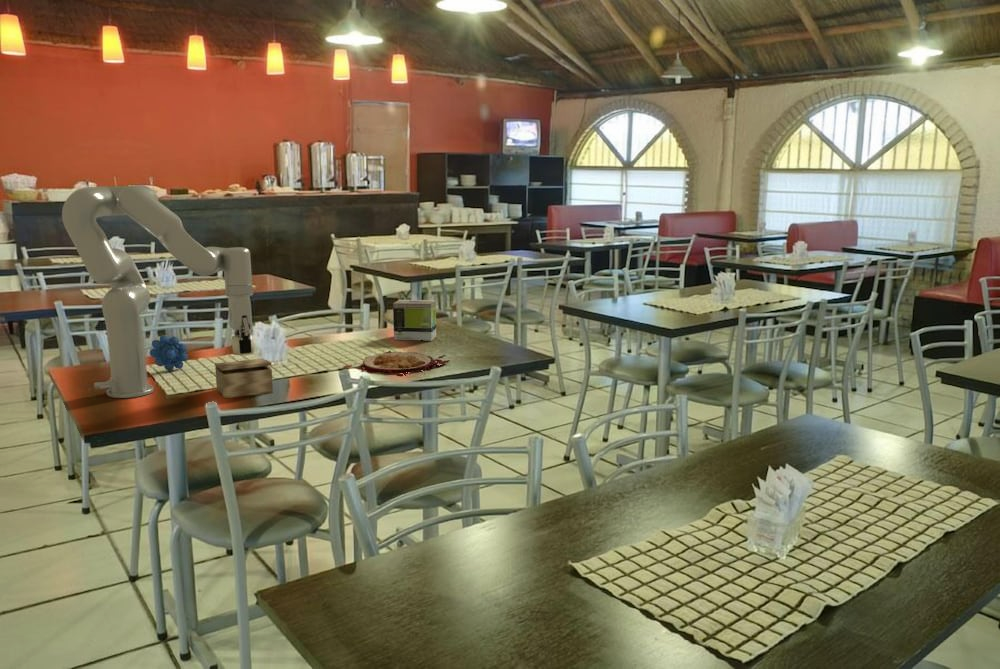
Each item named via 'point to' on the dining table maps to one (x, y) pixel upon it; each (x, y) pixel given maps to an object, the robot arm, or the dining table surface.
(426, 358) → the plate with food
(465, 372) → the dining table surface
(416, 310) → the tea box
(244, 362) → the lid
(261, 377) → the carton
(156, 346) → the blue flower
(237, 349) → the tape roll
